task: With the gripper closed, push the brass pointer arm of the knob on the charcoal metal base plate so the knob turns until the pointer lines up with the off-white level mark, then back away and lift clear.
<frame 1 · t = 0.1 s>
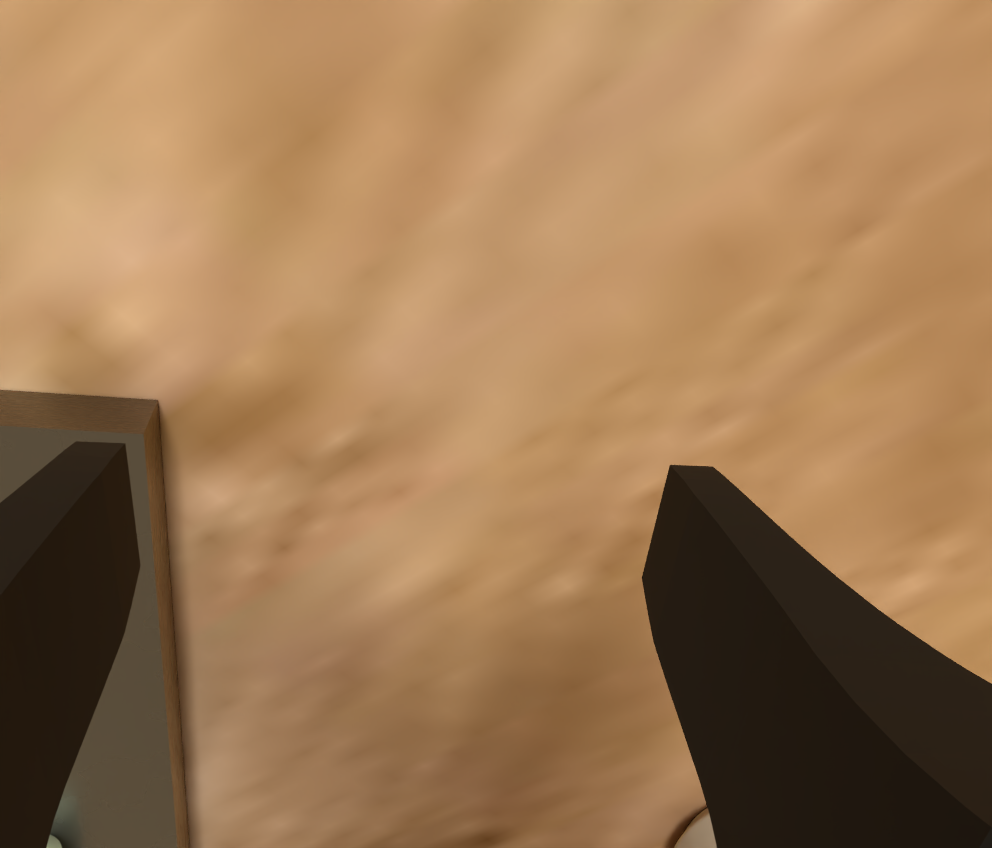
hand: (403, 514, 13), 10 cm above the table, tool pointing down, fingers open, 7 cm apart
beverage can: (749, 826, 35), on the table
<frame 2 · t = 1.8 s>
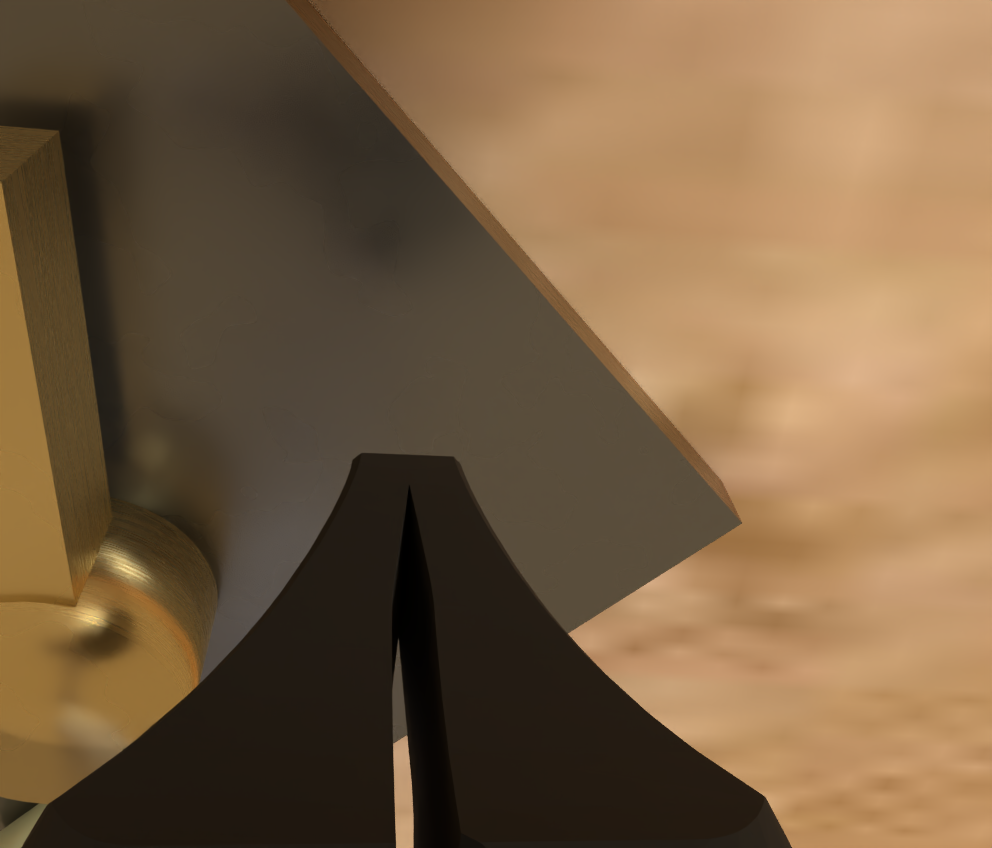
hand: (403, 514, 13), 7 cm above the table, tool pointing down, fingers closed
knob: (41, 499, 16), point 3 cm above the table, hinge at -45.0°
base plate: (66, 457, 20), on the table
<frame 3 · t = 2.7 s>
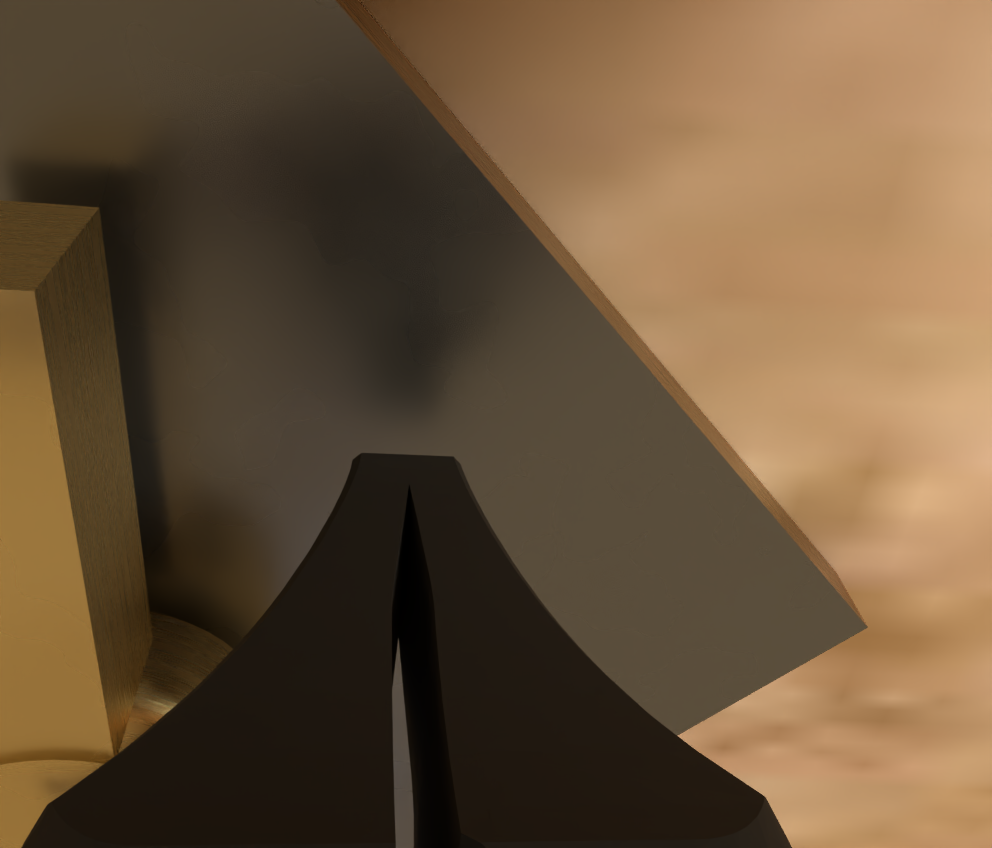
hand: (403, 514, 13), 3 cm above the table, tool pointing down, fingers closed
knob: (73, 631, 14), point 3 cm above the table, hinge at -45.0°
base plate: (96, 555, 17), on the table
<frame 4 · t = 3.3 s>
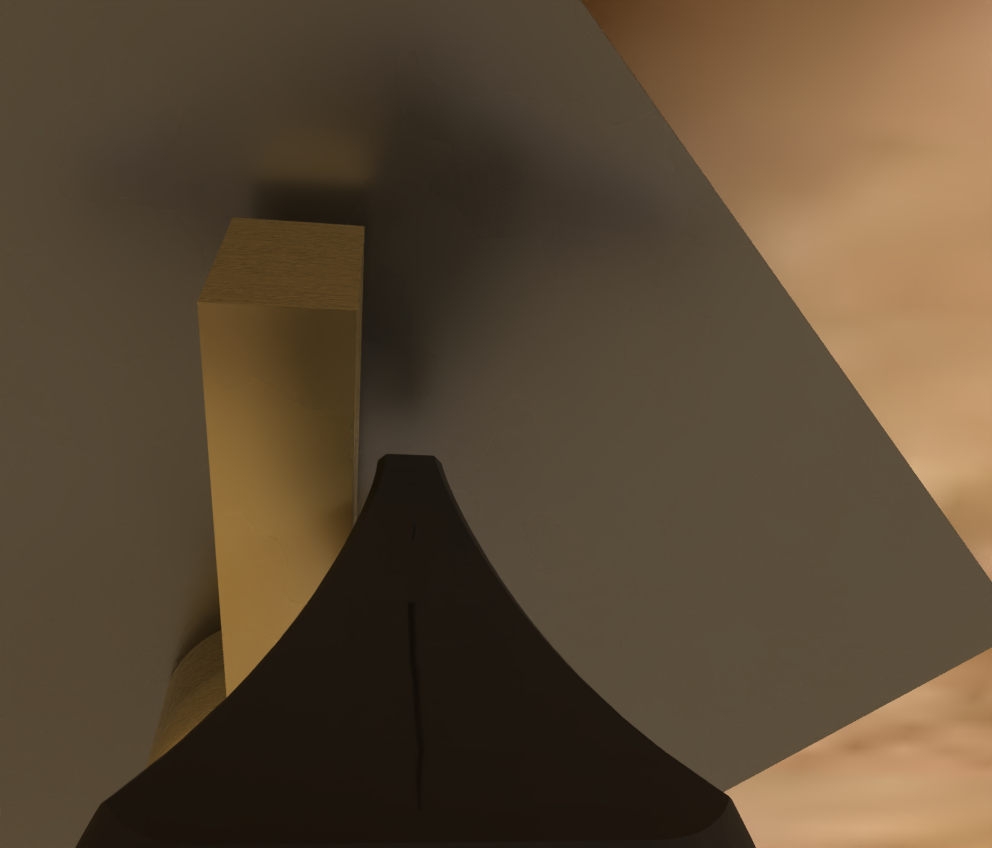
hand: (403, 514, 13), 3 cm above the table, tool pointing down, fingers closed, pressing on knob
knob: (297, 634, 14), point 3 cm above the table, hinge at -44.9°, touching gripper
base plate: (275, 560, 17), on the table
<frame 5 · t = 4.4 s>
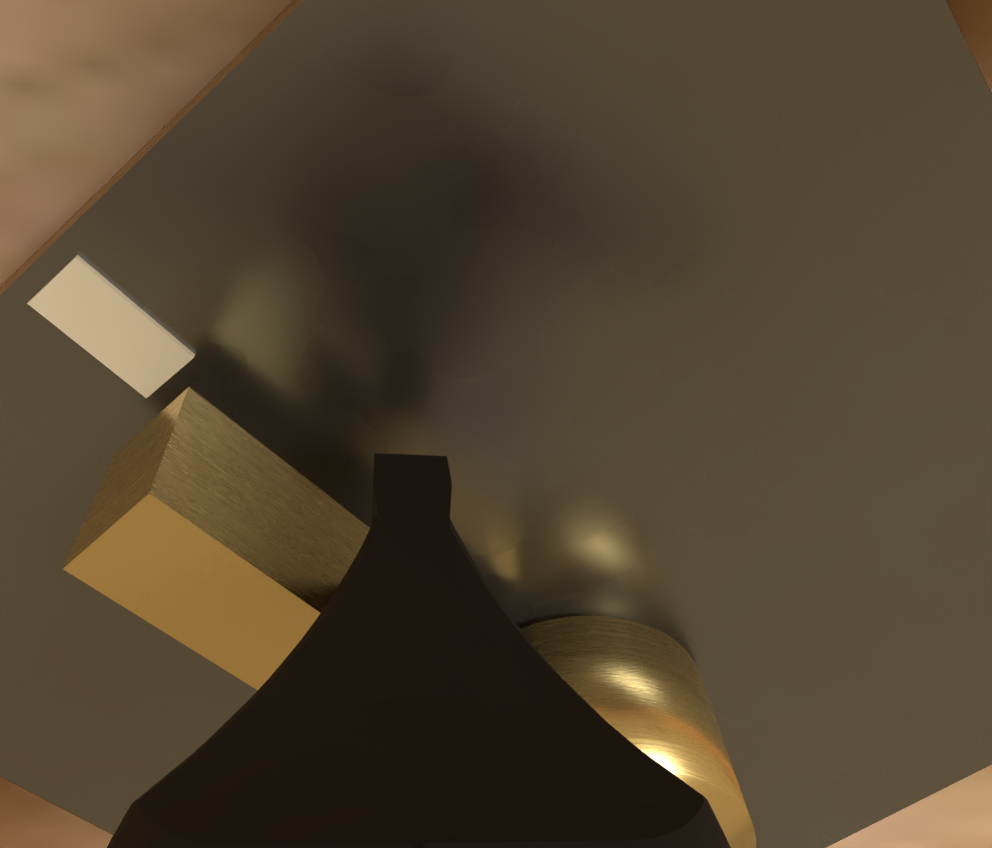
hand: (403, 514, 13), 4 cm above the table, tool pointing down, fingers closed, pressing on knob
knob: (450, 687, 15), point 3 cm above the table, hinge at 1.8°, touching gripper
base plate: (539, 566, 18), on the table
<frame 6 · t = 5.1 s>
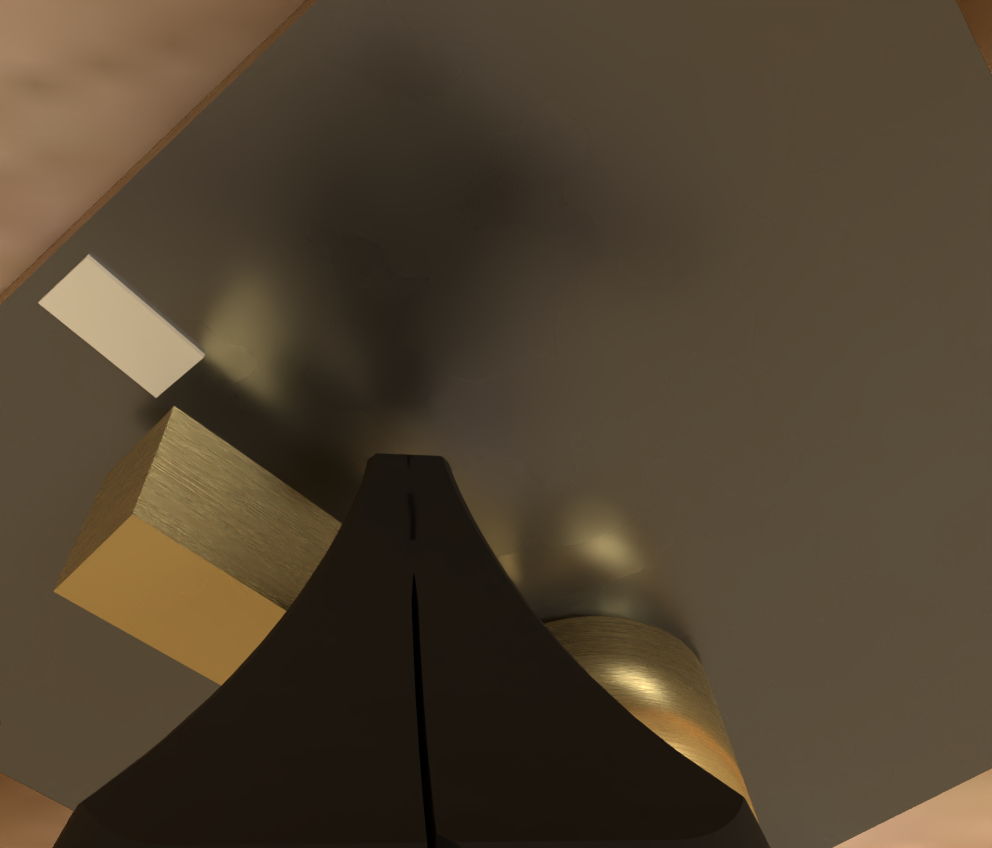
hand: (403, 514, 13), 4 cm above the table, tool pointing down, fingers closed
knob: (449, 693, 15), point 3 cm above the table, hinge at 4.6°, touching gripper
base plate: (545, 566, 18), on the table
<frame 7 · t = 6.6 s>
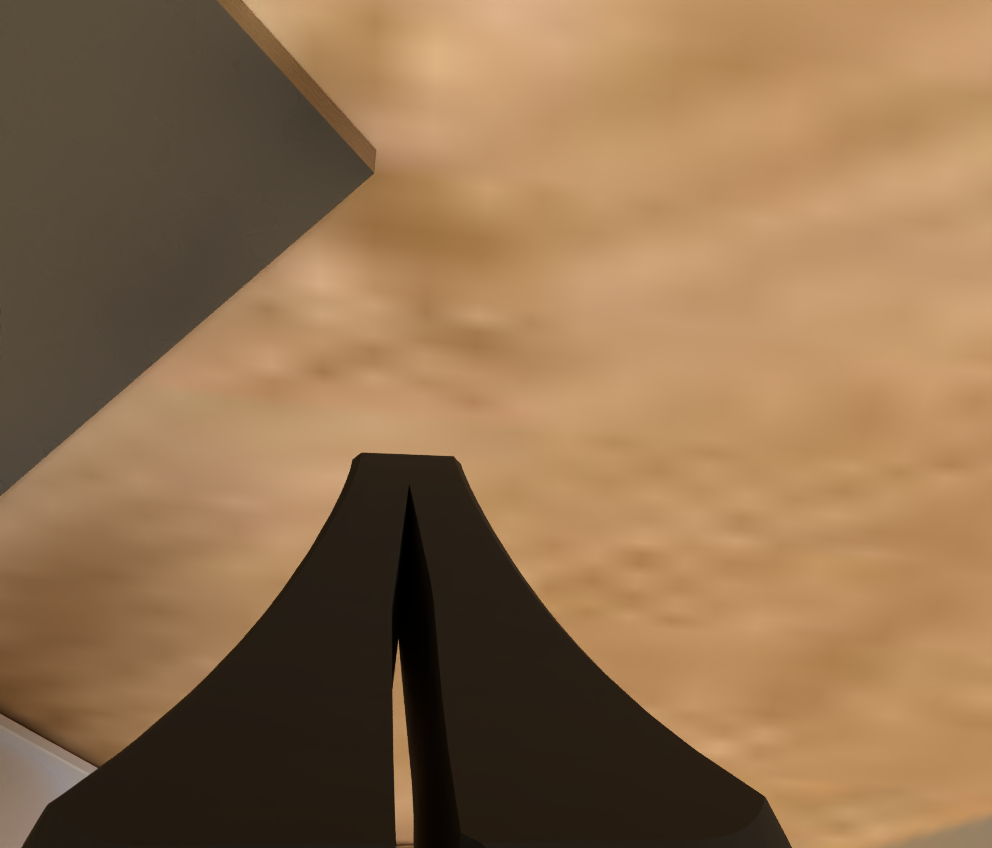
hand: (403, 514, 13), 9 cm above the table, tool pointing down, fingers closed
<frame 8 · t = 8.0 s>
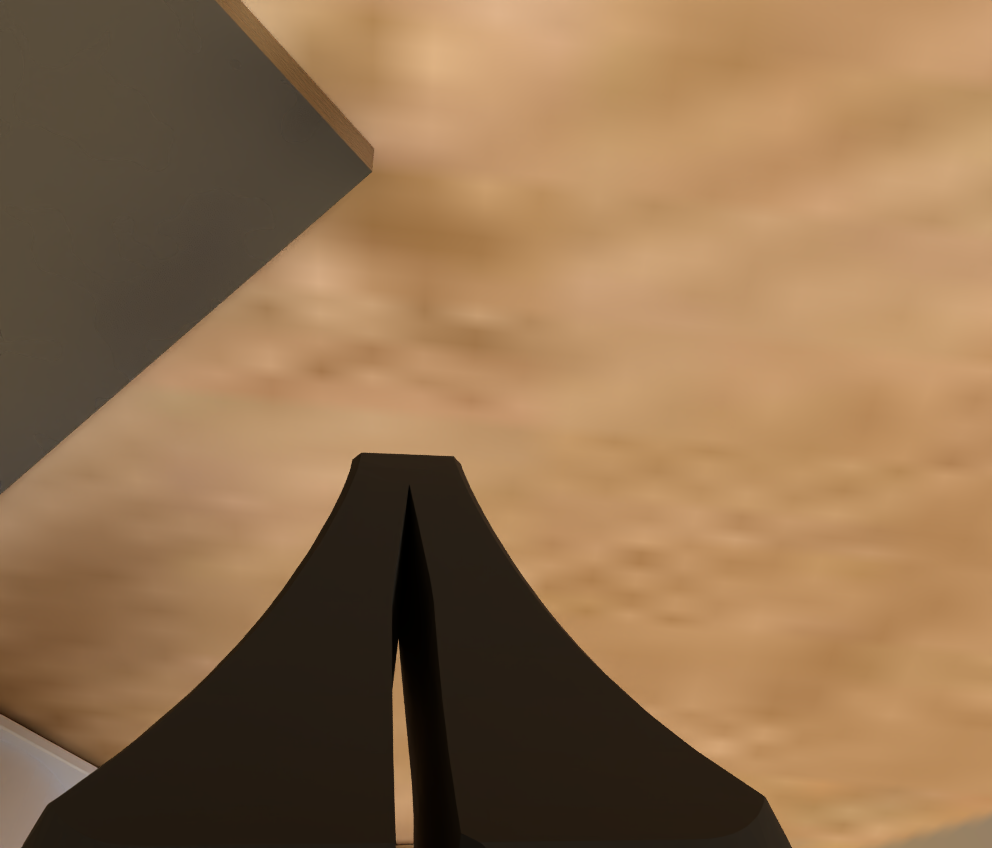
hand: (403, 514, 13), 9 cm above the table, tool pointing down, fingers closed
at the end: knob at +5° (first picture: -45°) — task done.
